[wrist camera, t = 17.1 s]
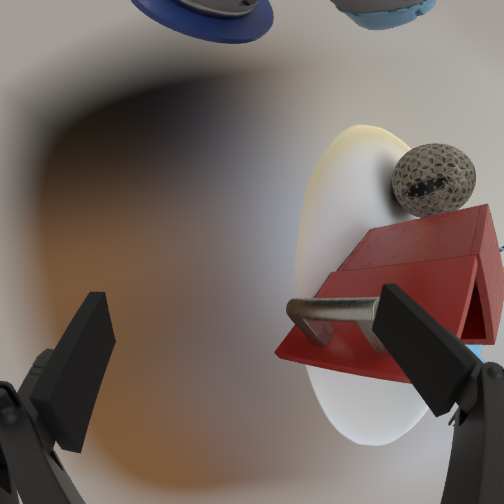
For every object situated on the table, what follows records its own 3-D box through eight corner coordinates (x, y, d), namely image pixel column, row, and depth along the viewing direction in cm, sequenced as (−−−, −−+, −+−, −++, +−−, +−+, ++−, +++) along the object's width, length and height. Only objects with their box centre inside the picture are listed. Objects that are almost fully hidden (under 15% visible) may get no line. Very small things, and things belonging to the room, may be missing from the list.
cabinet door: (244, 320, 28) (421, 334, 14) (309, 240, 34) (459, 206, 19) (279, 358, 30) (443, 387, 15) (335, 278, 36) (478, 263, 21)
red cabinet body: (371, 340, 39) (494, 345, 24) (336, 271, 36) (479, 253, 21) (399, 294, 44) (505, 286, 29) (370, 229, 41) (487, 203, 26)
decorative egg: (368, 166, 43) (453, 136, 31) (396, 153, 49) (465, 128, 37) (395, 235, 45) (480, 219, 32) (418, 211, 51) (488, 195, 38)
